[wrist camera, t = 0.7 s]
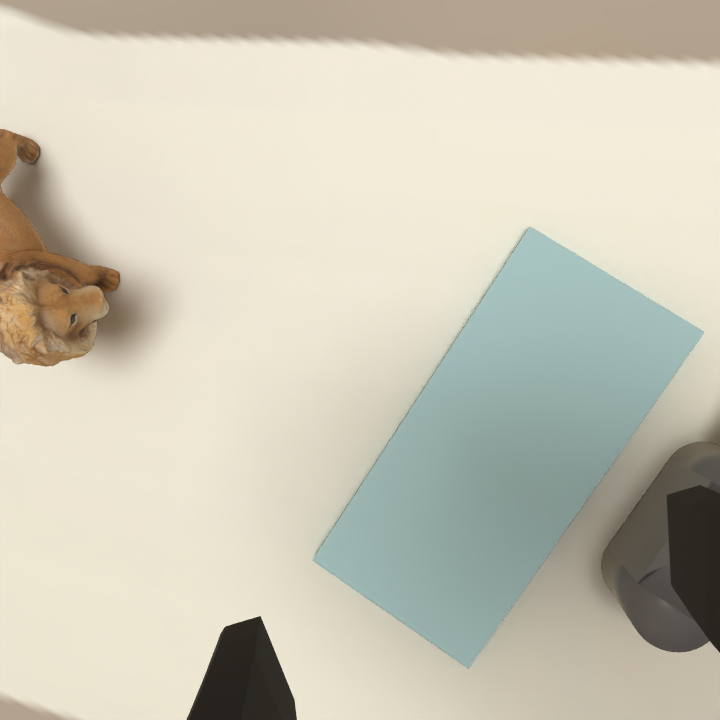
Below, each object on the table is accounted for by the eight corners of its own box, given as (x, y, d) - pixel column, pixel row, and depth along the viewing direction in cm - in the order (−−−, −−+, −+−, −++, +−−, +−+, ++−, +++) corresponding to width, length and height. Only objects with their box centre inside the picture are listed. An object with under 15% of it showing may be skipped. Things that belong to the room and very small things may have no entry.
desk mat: (697, 332, 28) (704, 332, 27) (467, 659, 30) (468, 668, 29) (527, 229, 29) (529, 226, 28) (315, 554, 31) (312, 560, 30)
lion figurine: (187, 318, 31) (85, 310, 23) (114, 385, 32) (-12, 403, 23) (11, 108, 32) (-154, 21, 23) (-56, 178, 33) (-240, 119, 24)
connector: (786, 434, 28) (851, 452, 23) (651, 618, 29) (688, 669, 24) (717, 391, 28) (768, 402, 24) (586, 575, 29) (611, 618, 25)
